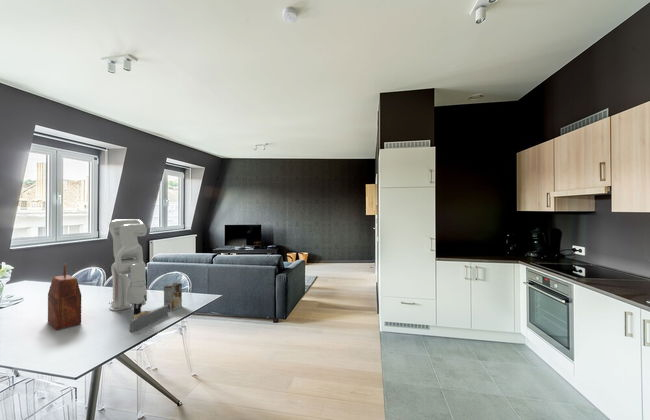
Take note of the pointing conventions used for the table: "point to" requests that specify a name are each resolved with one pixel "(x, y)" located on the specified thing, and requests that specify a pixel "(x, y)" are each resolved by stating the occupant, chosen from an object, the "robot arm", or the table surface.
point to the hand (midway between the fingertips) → (137, 313)
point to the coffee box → (173, 296)
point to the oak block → (141, 314)
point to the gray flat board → (148, 318)
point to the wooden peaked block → (64, 302)
